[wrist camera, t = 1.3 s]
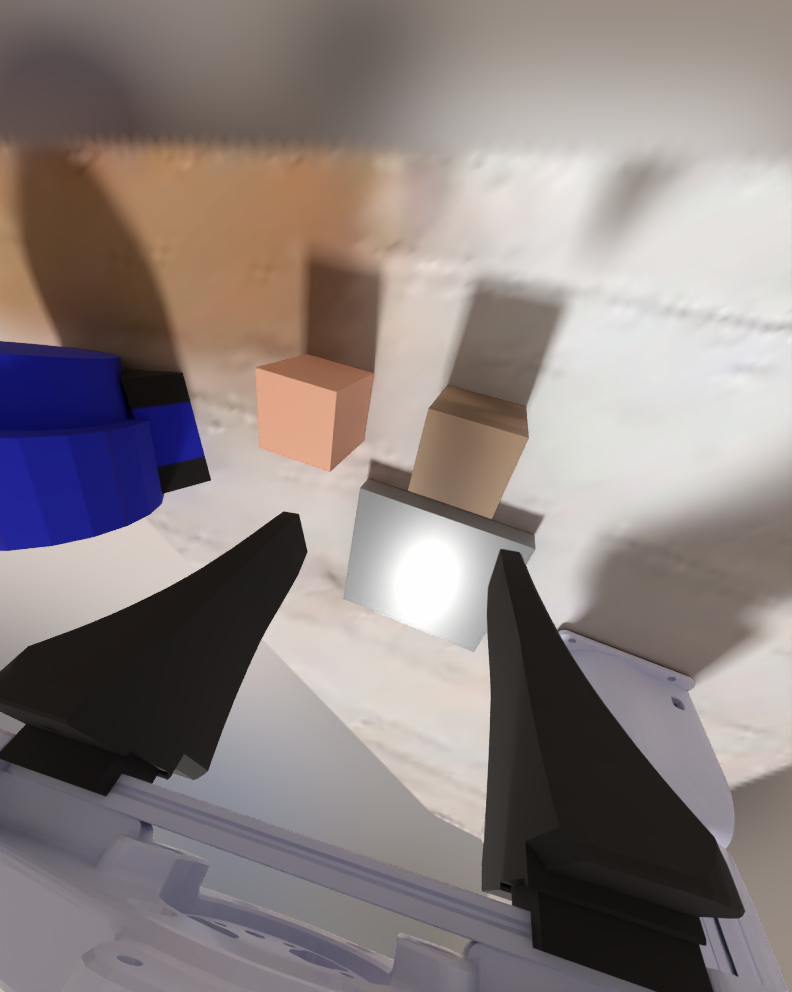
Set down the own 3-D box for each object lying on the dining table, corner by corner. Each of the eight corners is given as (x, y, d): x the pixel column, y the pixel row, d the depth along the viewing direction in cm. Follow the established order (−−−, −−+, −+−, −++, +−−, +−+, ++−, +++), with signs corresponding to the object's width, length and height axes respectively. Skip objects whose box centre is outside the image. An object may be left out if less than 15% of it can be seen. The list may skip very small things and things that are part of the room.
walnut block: (526, 406, 18) (528, 438, 14) (496, 475, 20) (491, 519, 16) (448, 384, 19) (428, 408, 15) (429, 453, 21) (407, 490, 17)
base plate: (534, 534, 22) (535, 549, 20) (475, 636, 28) (474, 652, 27) (368, 478, 23) (360, 488, 22) (350, 586, 30) (343, 598, 29)
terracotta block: (374, 373, 20) (336, 392, 16) (364, 440, 22) (329, 472, 18) (307, 353, 20) (255, 367, 16) (305, 421, 23) (259, 447, 19)
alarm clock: (111, 460, 32) (-140, 559, 20) (50, 319, 25) (-385, 336, 13) (214, 487, 29) (-4, 621, 17) (175, 338, 23) (-224, 382, 10)
